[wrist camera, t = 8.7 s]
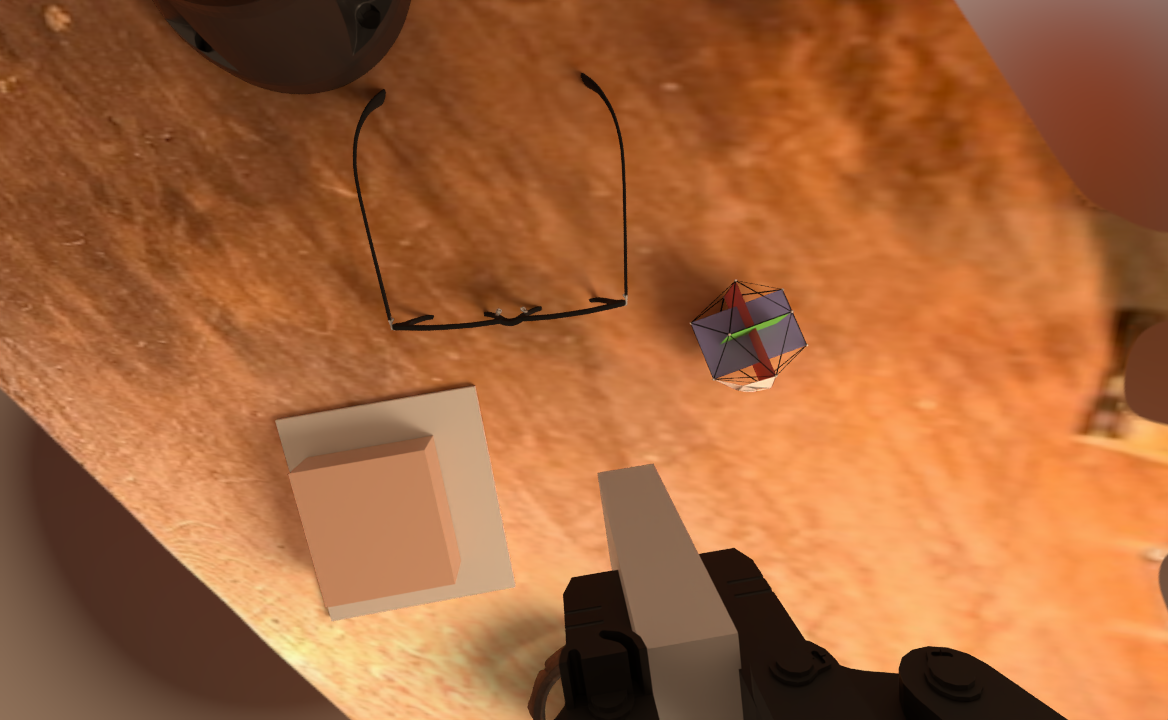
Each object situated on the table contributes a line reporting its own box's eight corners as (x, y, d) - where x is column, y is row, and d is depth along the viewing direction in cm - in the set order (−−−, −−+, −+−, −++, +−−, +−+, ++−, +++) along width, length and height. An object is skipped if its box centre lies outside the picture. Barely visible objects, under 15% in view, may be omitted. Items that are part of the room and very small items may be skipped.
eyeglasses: (397, 332, 40) (381, 341, 36) (356, 91, 36) (334, 72, 33) (628, 307, 40) (638, 313, 36) (608, 69, 37) (616, 48, 33)
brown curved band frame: (532, 735, 47) (508, 774, 39) (555, 613, 49) (536, 627, 42) (678, 773, 45) (683, 822, 37) (693, 644, 48) (701, 664, 40)
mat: (277, 418, 40) (275, 420, 39) (475, 385, 40) (474, 386, 40) (333, 617, 43) (331, 621, 42) (515, 584, 43) (515, 587, 43)
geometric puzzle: (673, 276, 38) (723, 360, 32) (768, 241, 38) (833, 319, 32) (683, 344, 43) (727, 425, 38) (767, 313, 43) (822, 390, 38)
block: (433, 435, 40) (306, 457, 40) (424, 450, 37) (287, 473, 37) (461, 560, 42) (341, 582, 42) (455, 584, 39) (325, 607, 39)
